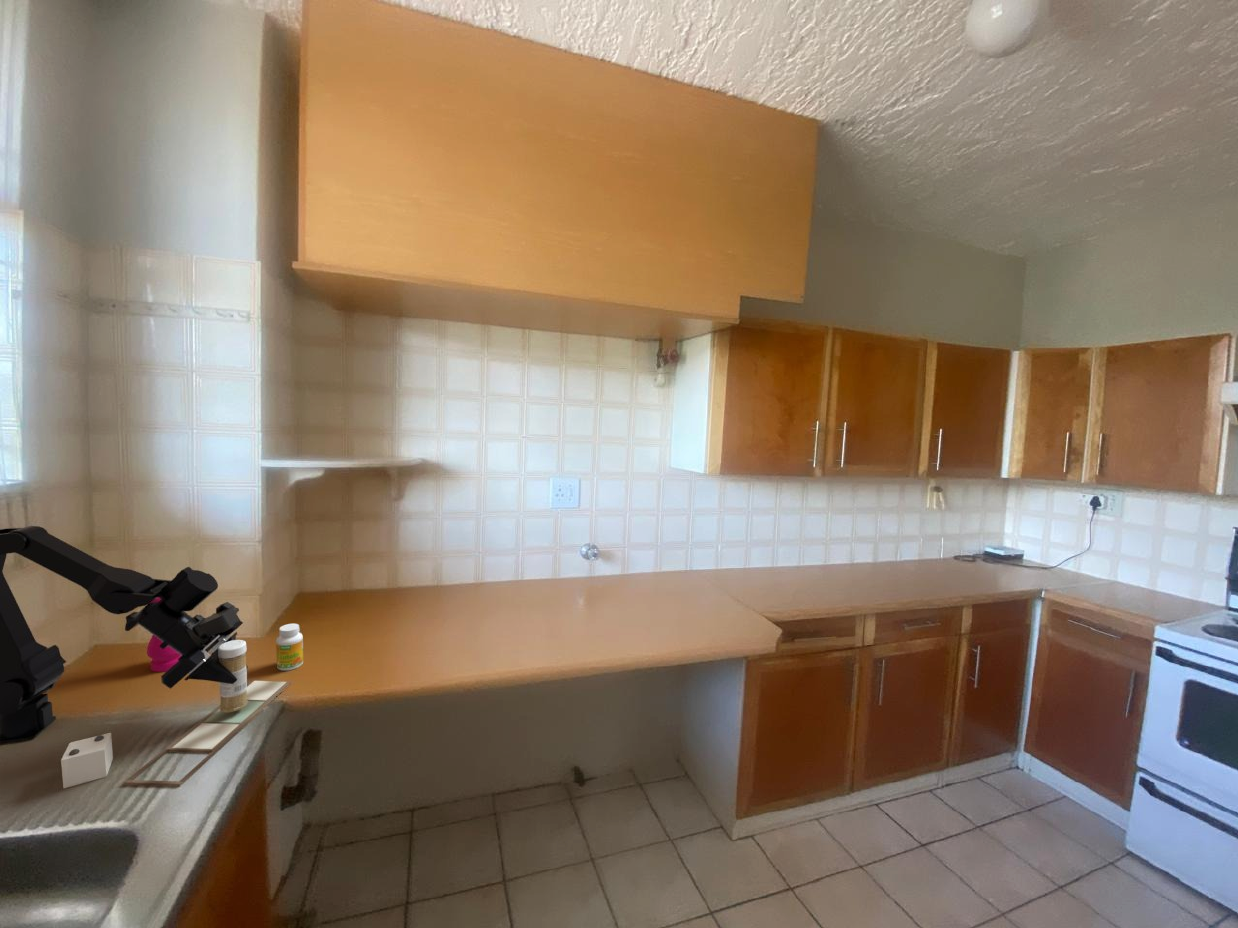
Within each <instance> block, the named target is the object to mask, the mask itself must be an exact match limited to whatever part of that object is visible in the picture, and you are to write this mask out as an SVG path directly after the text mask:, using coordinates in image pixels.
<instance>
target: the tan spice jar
mask: <svg viewBox="0 0 1238 928" xmlns="http://www.w3.org/2000/svg"><path fill="white" fill-rule="evenodd" d="M247 650H248V649H247V642H246V641H245V640H243V639H236V640H233V641H228V642H225V643H223V644H221V645H220V646H219V647H218V658H219V662H220V663H221V664H222V665H223V666H224V667H225V668H226V669H228V670H229V671H230V672H231V673H232V674H233V675H234V676H235V677H236V678H237V681H236V682H235V683H234V684H228V683H222V682H219V696H220V700H219V701H220V705H221V706H220V705H219V706H220V710H221V711H222V712H234V711H237V710H240V709H242V708H243V707H245V706H246V705H247V702H248V701H247V683H248V682H247V681H248V679H247V677H248V673H247V670H248V668H247V669H246V665H247V658H246V656H247V655H246V653H247Z"/></svg>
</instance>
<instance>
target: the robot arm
mask: <svg viewBox="0 0 1238 928" xmlns="http://www.w3.org/2000/svg"><path fill="white" fill-rule="evenodd" d="M7 554H17V555H20V556H21V557H24V558H25V559H27V560H29V561H31V562H32V563H35V564H37V565H39V566H40V567H42V568H45V569H46V570H49V571H50V572H52V573H54V574H56V575H58V576H60V577H62V578H64V579H67V580H68V581H70V582H72V583H73V584H76V585H78V586H80V587H81V588H83V589H85V591H86V592H87V593H88V595H89V598H90V599H91V601H92V602H94V603H95V604H97V605H98V606H100V607H101V608H102V609H104V611H107V613H111V614H113V615H122V614H128V613H130V612H131V613H130V614H128V615H127V616H125V621H126V622H125V625H124V630H125V632H130V631H131V630H133V628H135V627H137V626H139V625H140V626H141V627H142V628H143V629H145V630H146V631H147V632H149V633H150V634H152V635H154V636H156V637H157V638H159V639H160V640H161V641H163V643H162V644H160V645H159V646H160V647H161V648H162V649H164V648H166V647H167V646H170V647H171V648H172V649H174V650H175V651H176V652H178V653H179V654H181V655H182V656H181V657H180V658H178V660H179V661H178V662H177V663H176V664H175V665H174V666H172V667H171V668H170V669H169V670H168V671H165V672H164V673H163V674H162V675H161V676H160V677H161V678H160V679H161V680H160V681H161V684H163V685H164V686H165V687H167V688H168V689H172V688H173V687H174V686H176V685H177V684H178V683H180V681H181V680H182V679H183V680H184V681H188V680H198V681H208V682H209V681H210V682H217V683H220V682H222V683H228V684H234V683H235V682H236V681H237V678H236V677H235V676H234V675H233V674H232V673H231V672H230V671H229V670H228V669H226V668H225V667H224V666H223V665H222V664H221V663H220V662H219V658H218V647H219V646H220V645H221V644H223V643H225V642H228V641H233V640H237V639H236V638H237V635H238V632H237V631H236V630H237V629H238V628H239V627H241V626H242V625H243V624H244V622H243V621H242V620H241V619H240V617H239V616H238V613H239V611H240V608H238V607H236V606H235V604H234V605H233V604H232V603H230V602H228V601H226V602H223V603H222V604H220V605H218V606H217V607H216V608H215V612H214V613H212V614H211V615H209V616H207V617H204V616H203V615H201V614H196V615H194V616H191V615H190V614H189V613H187V612H191V611H193V610H195V609H196V608H197V607H198V606H199V605H200V604H201V603H202V602H204V601H205V600H206V599H207V598H209V597H210V596H211V594H213V593H214V592H216V590H218V587H219V585H218V581H217V580H216V578H215V577H214V576H213V575H211V574H210V573H206V572H204V571H202V570H198V569H195V570H194V569H193V568H191V567H190V566H186V567H184V568H183V569H181V570H180V571H179V572H178V573H177V574H176V575H175V577H174V578H172V580H168V579H158V578H153V577H152V576H149V575H147V574H144V573H141V572H138V571H135V570H134V569H129V568H121V567H114V566H112V565H109V564H107V563H105V562H103V561H101V560H99V559H98V558H95V557H93V555H91V554H88V553H86V552H84V551H83V550H81V549H79V548H77V547H75V546H73V545H71V544H69V543H68V542H66V541H64V540H62V539H60V538H58V537H56V536H55V535H52V534H50V533H49V532H48V530H47V529H46V528H45V527H42V526H40V525H38V526H37V525H29V526H24V527H6V528H0V744H6V743H8V744H9V743H15V742H22V741H29V740H33V739H36V737H38V736H39V735H40V734H41V733H43V731H44V730H46V728H48V727H49V726H50V725H51V724H52V723H54V721H56V720H57V716H56V715H54V714H53V703H52V701H49V695H48V693H46V692H47V691H49V690H51V689H52V688H54V687H55V684H56V682H57V681H58V680H59V679H60V678H61V677H62V675H63V673H65V666H64V664H66V663H67V660H65V659H64V658H63V657H62V655H61V652H60V648H59V646H58V645H56V644H53V645H51V646H49V647H47V646H45V645H43V644H41V643H39V642H37V641H36V638H35V637H34V635H33V633H32V631H31V629H30V627H29V625H28V622H27V620H26V618H25V616H24V614H23V612H22V610H21V609H20V606H19V604H18V602H17V600H16V597H15V595H14V594H13V591H12V590H11V587H10V585H9V584H8V580H7V579H6V577H5V574H4V573H3V572H4V568H5V567H4V566H5V562H6V559H7V556H8V555H7ZM158 597H159V598H161V600H160V601H159V602H152V601H153V600H155V599H157V598H158ZM150 602H151V603H150ZM139 607H140V608H141V607H143V608H141V609H140V610H139V611H134V610H135V609H137V608H139ZM132 611H133V612H132ZM232 633H233V634H232ZM231 634H232V635H231ZM209 652H210V653H209ZM248 668H249V666H248V665H247V664H246V669H247V670H248ZM185 676H186V677H185Z"/></svg>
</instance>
